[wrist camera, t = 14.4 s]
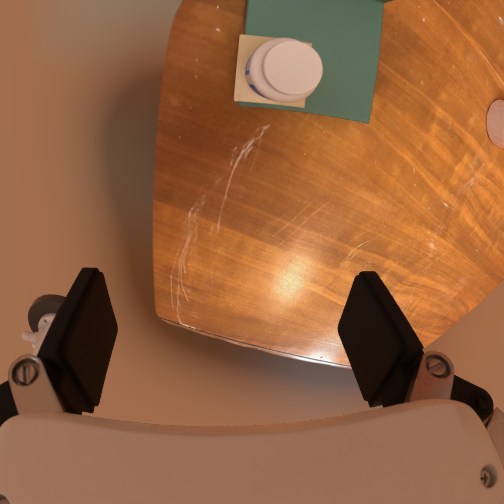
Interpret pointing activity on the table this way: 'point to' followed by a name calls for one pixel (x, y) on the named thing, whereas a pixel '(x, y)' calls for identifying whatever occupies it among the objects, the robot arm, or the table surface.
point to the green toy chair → (319, 52)
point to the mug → (496, 123)
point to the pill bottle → (284, 70)
